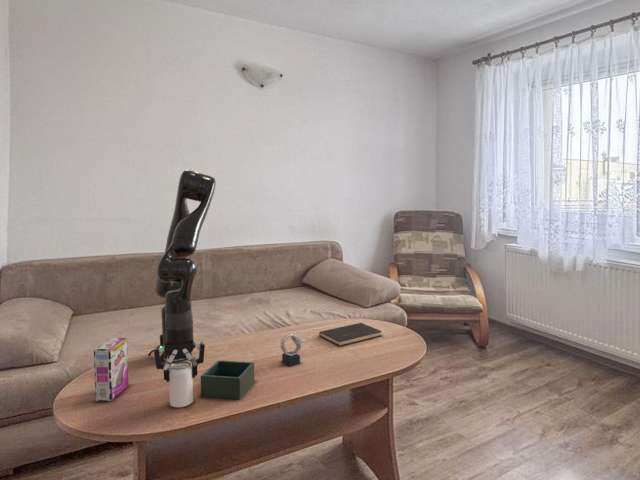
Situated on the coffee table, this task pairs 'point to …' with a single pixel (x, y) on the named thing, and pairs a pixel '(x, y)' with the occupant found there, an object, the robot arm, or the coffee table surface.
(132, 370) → the coffee table surface
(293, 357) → the watch
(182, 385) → the can
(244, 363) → the bin
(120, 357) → the candy bar box
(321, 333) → the hardcover book
